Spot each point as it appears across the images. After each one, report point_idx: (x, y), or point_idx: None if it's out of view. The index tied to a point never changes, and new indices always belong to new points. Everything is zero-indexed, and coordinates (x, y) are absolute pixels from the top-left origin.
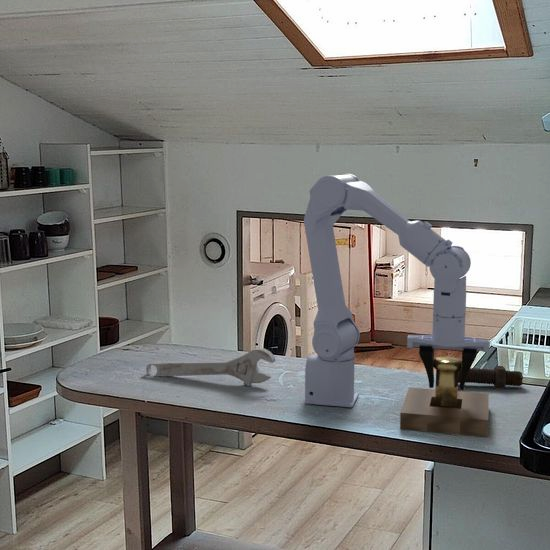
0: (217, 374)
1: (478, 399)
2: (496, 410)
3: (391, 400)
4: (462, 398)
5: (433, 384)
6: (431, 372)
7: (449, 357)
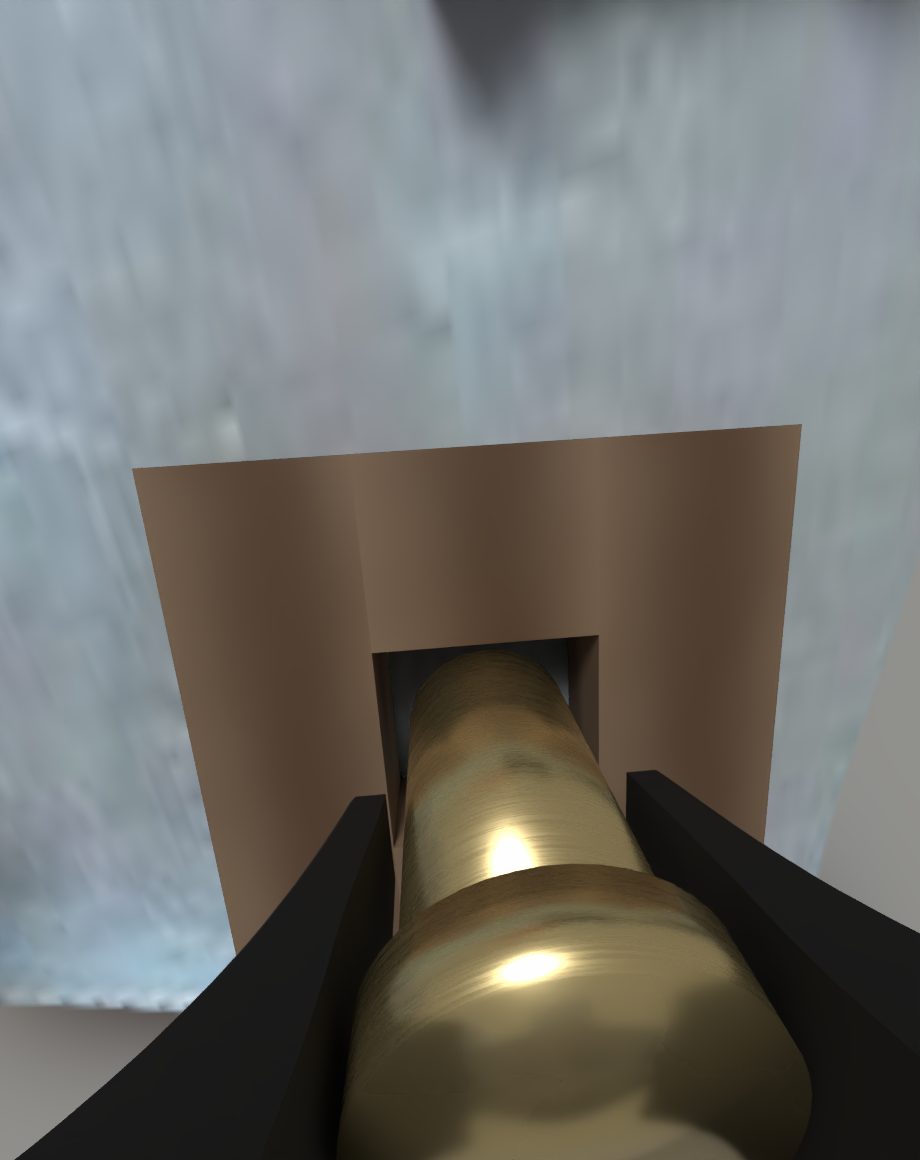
0: None
1: (714, 603)
2: None
3: (70, 464)
4: (599, 618)
5: (389, 857)
6: None
7: (603, 1013)
